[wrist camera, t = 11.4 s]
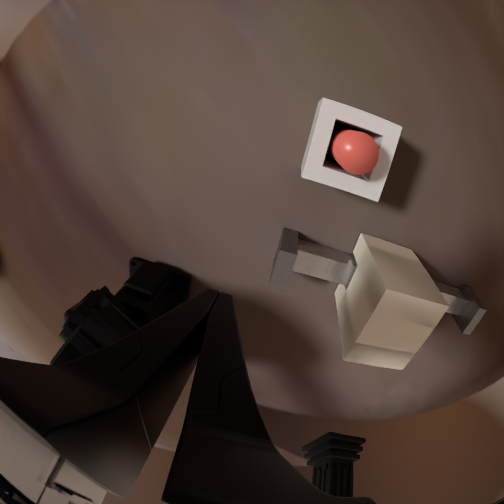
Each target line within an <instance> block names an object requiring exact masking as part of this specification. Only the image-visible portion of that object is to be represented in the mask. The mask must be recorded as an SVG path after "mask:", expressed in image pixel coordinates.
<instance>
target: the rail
mask: <svg viewBox="0 0 504 504" xmlns="http://www.w3.org/2000/svg"><path fill="white" fill-rule="evenodd" d="M357 266H358V265H357V262H356V259H355V256H354V255H352V254H348V253H345V252H342V251H338V250H335V249H331V248H328V247H325V246H321V245H318V244H314V243H311V242H307V241H304V240H300V239H298V231H294V230H291V229H287V228H283V231H282V235H281V238H280V241H279V245H278V248H277V251H276V255H275V258H274V262H273V267H272V272H271V277H270V282H269V287H272V288H276V289H280V290H283V291H285V289H286V286H287V284H288V281H289V278H290V275H291V272H292V271H295V272H299V273H302V274H306V275H310V276H313V277H317V278H320V279H324V280H328V281H331V282H335V283H339V284H342V285H346V286H349V283H350V281H351V279H352V277H353V275H354V273H355V271H356V268H357ZM433 281H434V283H435V284H436V286H437V288H438V289H439V291H440V292H441V294H442V296H443V297H444V299H445V300H446V302H447V304H448V305H449V307H448V309H447V311H446V312H448V313H451V314H452V316H453V317H454V319H455V321H456V323H457V325H458V326H459V328H460V330H461V332H462V333H463V334H467V335H470V334H471V332H472V331H473V330H474V328H475V327H476V325H477V324H478V323H479V321H480V320H481V318H482V317H483V315H484V314H485V312H486V311H487V310H486V308H485V307H484V306H483V304H482V303H481V301H480V300H479V298H478V297H477V296H476V294H475V293H474V292H473V290H472V289H471V288H470V286H467V285H464V284H462V286H461V287H460V289H459V288H456V287H453V286H450V285H447V284H444V283H441V282H438V281H435V280H433Z"/></svg>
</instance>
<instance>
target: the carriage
mask: <svg viewBox="0 0 504 504" xmlns="http://www.w3.org/2000/svg"><path fill="white" fill-rule="evenodd" d="M353 254H354V256H355V259H356V262H357V265H358V266H357V268H356V271H355V273H354V275H353V277H352V279H351V281H350V283H349V286H346V285H342V284H339V285H338V287H337V289H336V291H335V298H336V305H337V312H338V320H339V328H340V337H341V346H342V356H343V360H344V361H349V362H355V363H360V364H366V365H372V366H379V367H385V368H392V369H400V370H403V368H404V367H405V366H406V365H407V364H408V362H409V361H410V360H411V359H412V358H413V356H414V355H415V354H416V352H417V351H418V350H419V349H420V347H421V346H422V345H423V343H424V342H425V341H426V339H427V338H428V337H429V335H430V334H431V332H432V331H433V330H434V328H435V327H436V325H437V324H438V322H439V321H440V320H441V318H442V317H443V315H444V314H445V312H446V311H447V309H448V307H449V305H448V304H447V302H446V300H445V299H444V297H443V296H442V294H441V292H440V291H439V289H438V288H437V286H436V284H435V283H434V281H433V280H432V278H431V277H430V275H429V274H428V272H427V271H426V269H425V268H424V266H423V265H422V264H421V262H420V261H419V259H418V258H417V256H416V255H415V254H414V252H413V251H412V250H411V249H408V248H405V247H403V246H400V245H397V244H394V243H391V242H388V241H385V240H382V239H379V238H376V237H373V236H370V235H367V234H364V233H361V234H360V236H359V239H358V241H357V244H356V246H355V249H354V251H353Z"/></svg>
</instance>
